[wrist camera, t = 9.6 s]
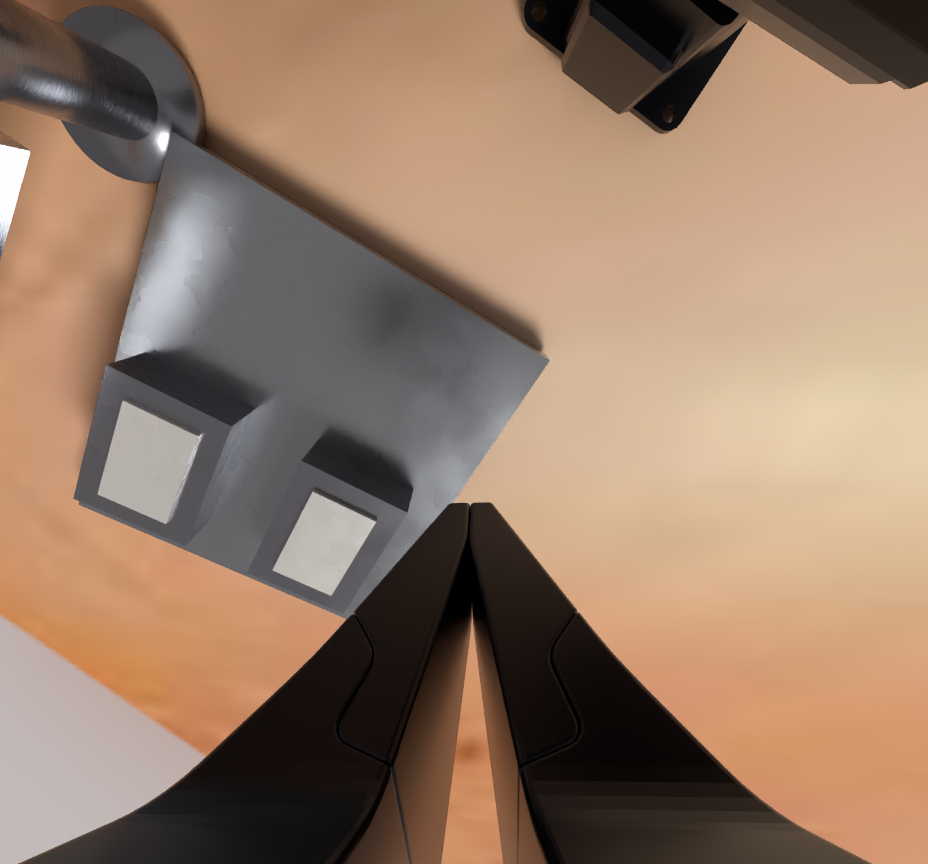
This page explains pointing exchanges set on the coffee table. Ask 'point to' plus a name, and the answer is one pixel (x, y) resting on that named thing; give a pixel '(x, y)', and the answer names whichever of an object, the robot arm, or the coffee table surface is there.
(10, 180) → the cable arm
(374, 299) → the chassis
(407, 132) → the coffee table surface
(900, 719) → the coffee table surface
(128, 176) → the pivot post
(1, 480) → the coffee table surface
